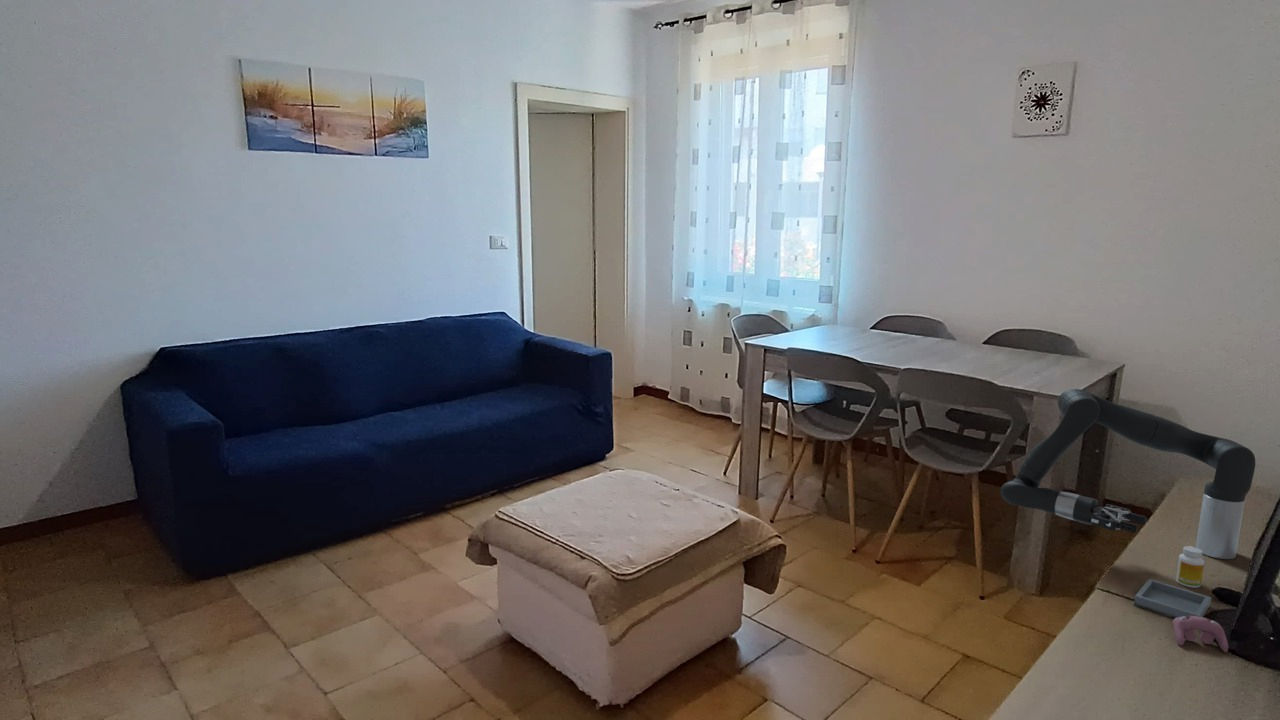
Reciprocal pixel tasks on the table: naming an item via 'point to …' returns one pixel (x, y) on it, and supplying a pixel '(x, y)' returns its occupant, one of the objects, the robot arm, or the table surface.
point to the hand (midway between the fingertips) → (1141, 525)
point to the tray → (1171, 600)
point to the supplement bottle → (1190, 567)
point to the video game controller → (1209, 628)
